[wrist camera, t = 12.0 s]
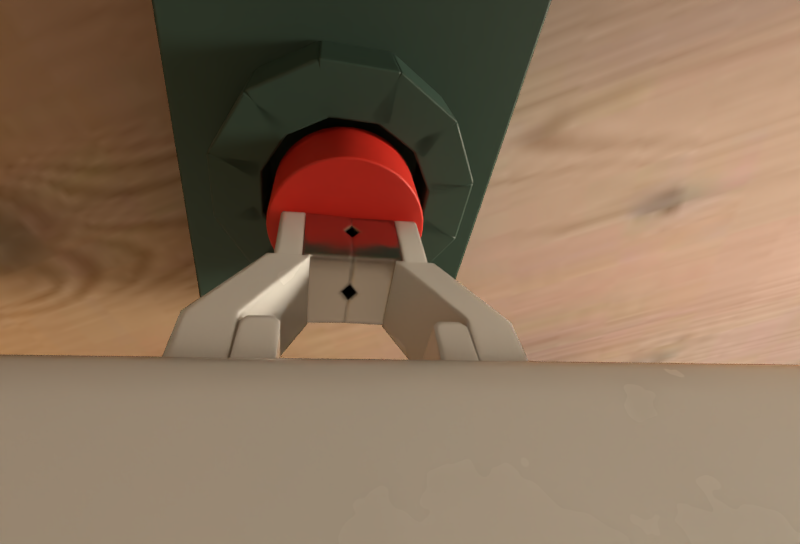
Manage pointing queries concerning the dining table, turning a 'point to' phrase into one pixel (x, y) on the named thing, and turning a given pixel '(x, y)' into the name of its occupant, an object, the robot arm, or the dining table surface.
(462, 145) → the button housing
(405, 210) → the button
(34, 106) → the dining table surface
